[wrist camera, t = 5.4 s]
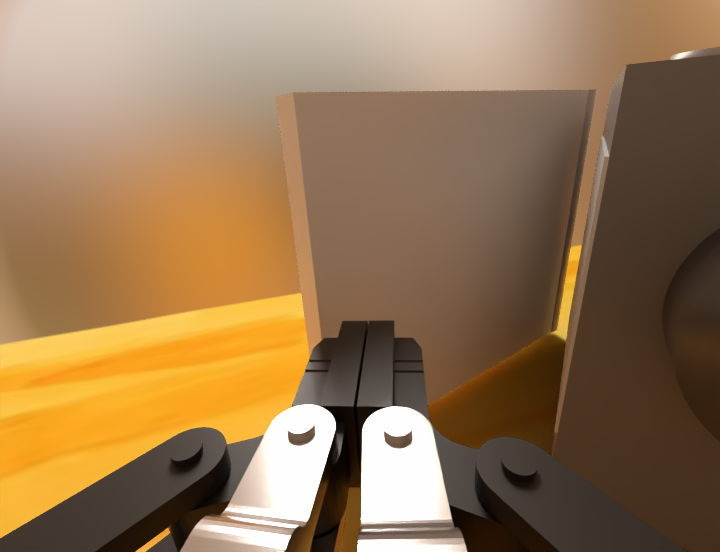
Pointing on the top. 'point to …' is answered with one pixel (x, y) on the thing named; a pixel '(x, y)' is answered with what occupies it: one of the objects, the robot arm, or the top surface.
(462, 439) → the top surface
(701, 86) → the block
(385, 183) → the side door
